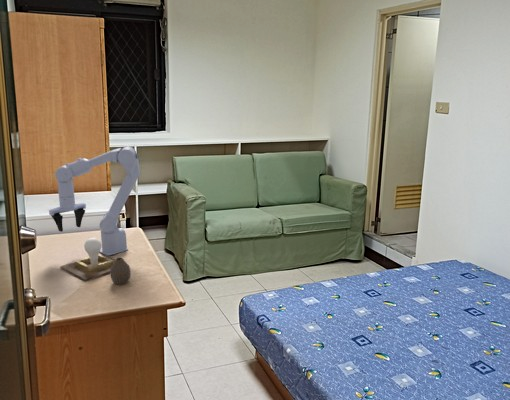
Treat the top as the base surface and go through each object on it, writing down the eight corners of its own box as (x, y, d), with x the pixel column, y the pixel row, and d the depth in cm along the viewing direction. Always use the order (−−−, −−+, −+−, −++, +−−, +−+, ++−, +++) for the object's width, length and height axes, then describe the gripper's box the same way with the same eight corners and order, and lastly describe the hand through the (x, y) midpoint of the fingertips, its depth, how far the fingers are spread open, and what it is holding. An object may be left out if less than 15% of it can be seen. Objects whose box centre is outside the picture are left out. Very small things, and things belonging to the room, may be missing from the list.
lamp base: (103, 255, 198) (103, 253, 198) (129, 267, 187) (128, 265, 187) (60, 268, 185) (60, 266, 185) (85, 281, 174) (85, 279, 174)
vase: (109, 280, 175) (107, 256, 173) (129, 277, 177) (128, 254, 175) (112, 287, 169) (110, 263, 166) (132, 284, 171) (131, 260, 169)
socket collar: (99, 258, 193) (99, 253, 193) (114, 265, 186) (114, 260, 186) (74, 266, 186) (74, 261, 185) (89, 273, 179) (88, 268, 178)
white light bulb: (99, 269, 183) (96, 240, 180) (83, 268, 183) (80, 240, 180) (105, 263, 189) (103, 235, 186) (90, 262, 189) (87, 235, 186)
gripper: (78, 191, 203) (81, 223, 206) (44, 197, 193) (47, 230, 196) (87, 194, 199) (90, 226, 202) (52, 200, 188) (56, 234, 191)
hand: (69, 228), depth 199 cm, fingers open, 7 cm apart
